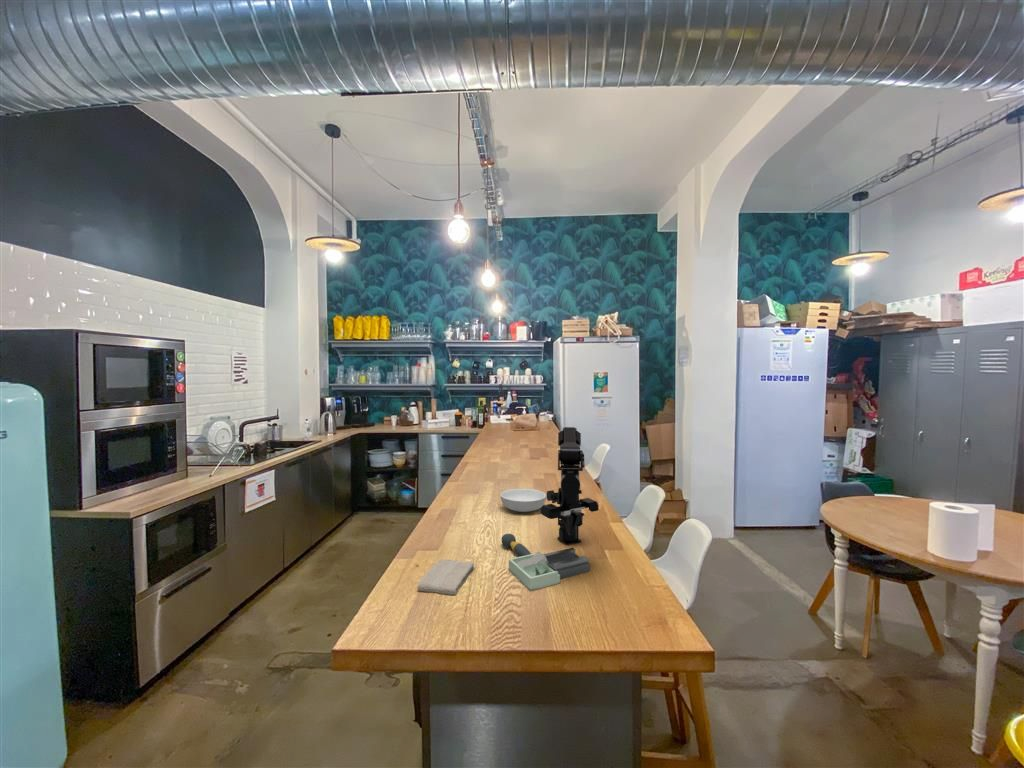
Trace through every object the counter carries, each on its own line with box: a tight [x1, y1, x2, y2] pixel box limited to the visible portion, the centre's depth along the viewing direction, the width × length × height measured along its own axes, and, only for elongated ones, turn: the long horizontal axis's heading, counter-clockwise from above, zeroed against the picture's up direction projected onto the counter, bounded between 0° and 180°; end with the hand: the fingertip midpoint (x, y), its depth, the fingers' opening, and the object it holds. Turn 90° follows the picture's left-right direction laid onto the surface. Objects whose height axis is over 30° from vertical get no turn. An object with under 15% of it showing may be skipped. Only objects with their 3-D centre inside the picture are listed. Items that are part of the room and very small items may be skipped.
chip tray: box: [508, 553, 561, 592], centre depth 128 cm, size 10×14×4 cm
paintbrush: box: [501, 533, 532, 557], centre depth 145 cm, size 20×5×5 cm, turn 37°
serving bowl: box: [500, 488, 547, 513], centre depth 191 cm, size 21×21×7 cm
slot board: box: [542, 547, 591, 580], centre depth 133 cm, size 12×10×4 cm
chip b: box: [517, 559, 536, 577], centre depth 127 cm, size 4×4×4 cm
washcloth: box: [417, 558, 475, 596], centre depth 126 cm, size 12×18×3 cm, turn 168°
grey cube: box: [530, 551, 550, 575], centre depth 129 cm, size 4×4×4 cm
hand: (569, 534), depth 133 cm, fingers closed
